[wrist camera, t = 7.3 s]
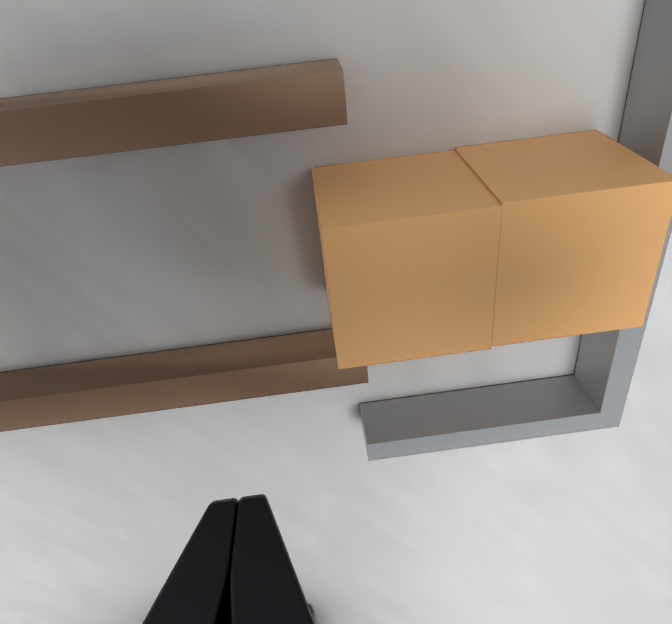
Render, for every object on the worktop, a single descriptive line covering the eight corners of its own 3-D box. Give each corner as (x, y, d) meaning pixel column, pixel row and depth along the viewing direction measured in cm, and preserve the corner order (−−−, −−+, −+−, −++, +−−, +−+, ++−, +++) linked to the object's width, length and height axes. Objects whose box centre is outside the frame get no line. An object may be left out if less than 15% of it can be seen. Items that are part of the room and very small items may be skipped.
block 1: (450, 272, 18) (490, 348, 15) (326, 288, 18) (338, 369, 14) (453, 148, 16) (501, 206, 12) (311, 166, 16) (321, 229, 12)
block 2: (574, 254, 18) (642, 326, 15) (450, 270, 18) (491, 346, 15) (594, 128, 16) (680, 179, 12) (453, 146, 16) (502, 202, 12)
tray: (591, 388, 21) (619, 426, 20) (361, 419, 21) (368, 460, 19) (706, -138, 12) (773, -150, 11) (312, -94, 12) (318, -99, 11)
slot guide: (362, 353, 19) (368, 382, 18) (-50, 408, 19) (-73, 441, 18) (336, 58, 14) (343, 70, 13) (-236, 126, 14) (-287, 145, 12)
